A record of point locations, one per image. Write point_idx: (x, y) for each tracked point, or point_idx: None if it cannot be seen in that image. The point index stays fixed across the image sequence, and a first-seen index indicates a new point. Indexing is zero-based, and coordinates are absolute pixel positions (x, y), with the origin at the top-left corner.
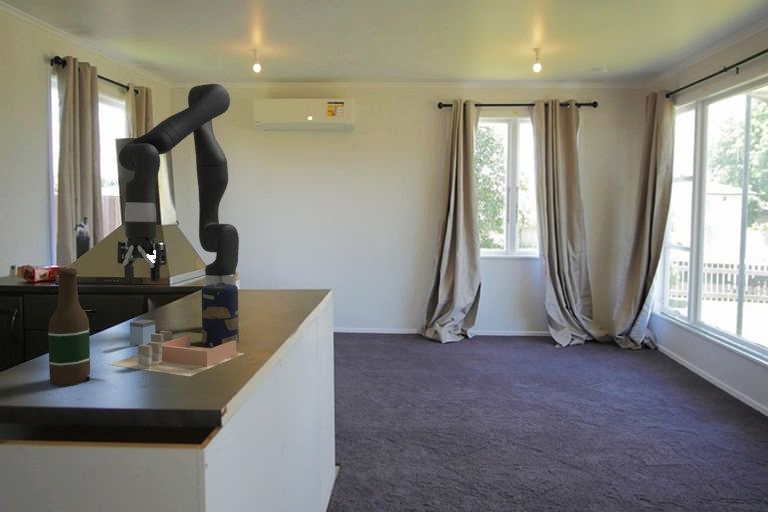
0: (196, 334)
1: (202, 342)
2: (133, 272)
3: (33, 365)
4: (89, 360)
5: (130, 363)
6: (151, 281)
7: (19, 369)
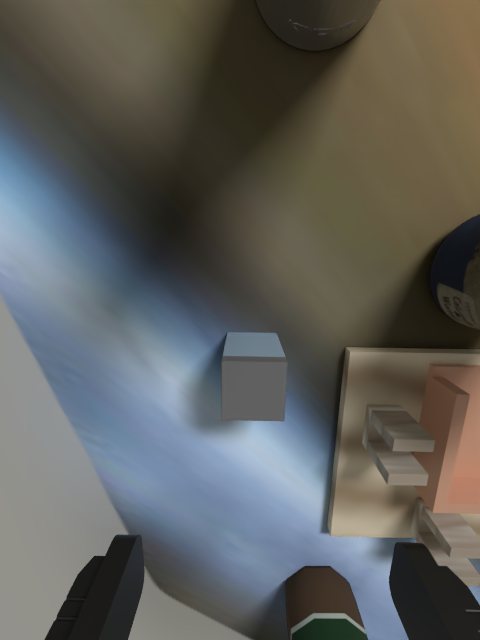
0: (294, 140)
1: (446, 313)
2: (114, 603)
3: (156, 549)
4: (357, 620)
5: (373, 517)
6: (391, 585)
7: (159, 573)
